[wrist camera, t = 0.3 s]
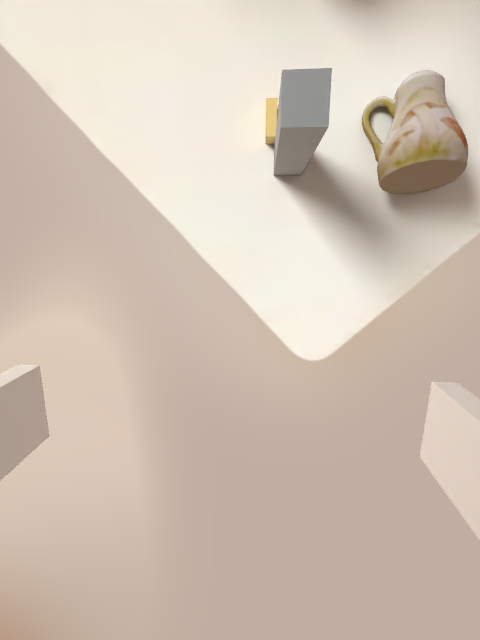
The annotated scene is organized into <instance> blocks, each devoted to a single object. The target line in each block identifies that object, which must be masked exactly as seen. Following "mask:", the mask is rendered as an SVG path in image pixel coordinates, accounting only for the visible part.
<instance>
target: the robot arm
mask: <svg viewBox="0 0 480 640" xmlns="http://www.w3.org/2000/svg"><path fill="white" fill-rule="evenodd" d="M48 437H49V431H48V423H47V416H46V409H45V401H44V394H43V387H42V380H41V373H40V366H39V365H20V364H19V365H16V366H14V367H12V368H10V369H9V370H7V371H5V372H3V373H1V374H0V481H1V480H2V479H3V478H4V477H5V476H6V475H7V474H8V473H9V472H10V471H11V470H13V469H14V468H15V467H16V466H17V465H18V464H19V463H20V462H21V461H22V460H23V459H24V458H26V457H27V456H28V455H29V454H30V453H31V452H32V451H33V450H35V449H36V448H37V447H38V446H39V445H40V444H41V443H42V442H43V441H44V440H45V439H47V438H48ZM420 458H421V459H422V461H423V462H424V463H425V465H426V466H427V468H428V469H429V470H430V472H431V473H432V474H433V476H434V477H435V479H436V480H437V482H438V483H439V484H440V486H441V487H442V489H443V490H444V491H445V492H446V494H447V495H448V497H449V498H450V500H451V501H452V503H453V504H454V505H455V507H456V508H457V509H458V511H459V512H460V514H461V515H462V516H463V518H464V519H465V521H466V522H467V523H468V525H469V526H470V528H471V529H472V530H473V532H474V533H475V535H476V536H477V537H478V539H479V540H480V399H478V398H477V397H476V396H474V395H473V394H472V393H470V392H469V391H468V390H466V389H465V388H464V387H462V386H461V385H460V384H458V383H456V382H433V381H432V384H431V391H430V397H429V403H428V409H427V415H426V421H425V427H424V433H423V439H422V446H421V452H420Z"/></svg>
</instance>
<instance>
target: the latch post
mask: <svg viewBox="0 0 480 640" xmlns="http://www.w3.org/2000/svg"><path fill="white" fill-rule="evenodd" d="M331 73H332V68H324V69H294V70H282V77H281V86H280V96H279V105H278V115H277V98H266V144H274V175H301V174H302V173H303V171H304V169H305V167H306V165H307V164H308V162H309V160H310V158H311V157H312V155H313V153H314V151H315V150H316V148H317V146H318V144H319V143H320V141H321V139H322V137H323V135H324V134H325V132H326V130H327V128H328V125H329V108H330V91H331Z"/></svg>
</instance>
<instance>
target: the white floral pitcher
mask: <svg viewBox="0 0 480 640" xmlns="http://www.w3.org/2000/svg"><path fill="white" fill-rule="evenodd" d="M379 107H386V108H388V110H389V113H390V115H391V116H393V117H394V119H393V122H392V125H391V127H390V130H389V132H388V134H387V138H386V140H385V142H384V144H382V143H381V142H380V141H379V139H378V138H377V136H376V135H375V133H374V132H373V130H372V128H371V126H370V123H369V117H370V114H371V112H372V111H373V110H374V109H376V108H379ZM362 125H363V129H364V131H365V133H366V135H367V137H368V138H369V140H370V142H371V144H372V146H373V149H374V153H375V157H376V161H377V162H378V167H377V172H378V180H379V185H380V187H381V188H382V190H384V191H387V192H391V193H401V194H410V193H418V192H423V191H428V190H431V189H435V188H438V187H440V186H443V185H446V184H448V183H450V182H452V181H454V180H455V179H456V178H457V177H458V176H459V175H461V173H462V172H463V171H464V170H465V168H466V166H467V157H468V145H467V140H466V137H465V135H464V133H463V131H462V129H461V127H460V126H459V124H458V122H457V121H456V119H455V117H454V116H453V114H452V113H451V111H450V109H449V107H448V105H447V102H446V97H445V82H444V77H443V76H442V75H440V74H438V73H436V72H434V71H429V70H424V71H419V72H416V73H414V74H412V75H410V76H409V77H407V78H406V79H405V80H404V81H403V83H402V84H401V85H400V86H399V88H398V89H397V91H396V94H395V98H394V100H392V99H389V98H387V97H385V96H383V97H377V98H376V99H374V100H373V101H371V102H370V103H369V104H368V105H367V106H366V108H365V109H364V112H363V116H362Z"/></svg>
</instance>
